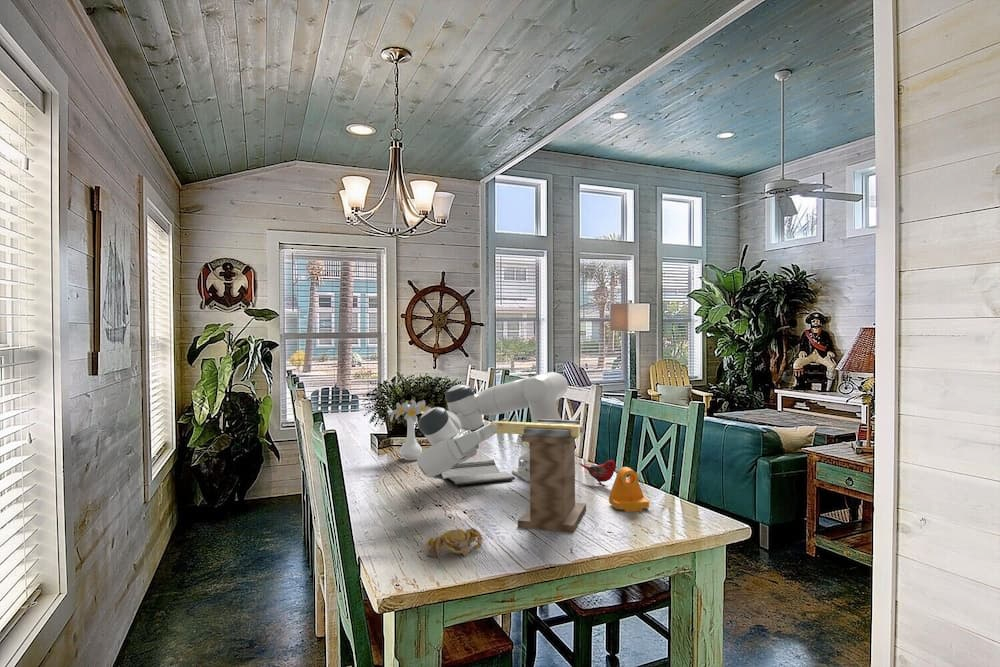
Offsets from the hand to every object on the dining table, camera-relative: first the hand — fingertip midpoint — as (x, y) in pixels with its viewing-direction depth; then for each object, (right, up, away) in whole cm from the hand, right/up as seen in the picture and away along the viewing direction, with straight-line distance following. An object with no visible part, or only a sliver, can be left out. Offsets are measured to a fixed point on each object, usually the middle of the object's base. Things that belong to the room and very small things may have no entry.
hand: (501, 423), depth 180 cm
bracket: (+40, -28, +12) cm, 50 cm away
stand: (+15, -29, +2) cm, 32 cm away
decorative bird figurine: (+34, -28, +38) cm, 58 cm away
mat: (-10, -28, +50) cm, 58 cm away
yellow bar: (+10, -3, -3) cm, 10 cm away
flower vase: (-39, -27, +80) cm, 93 cm away
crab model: (-13, -30, -22) cm, 39 cm away
